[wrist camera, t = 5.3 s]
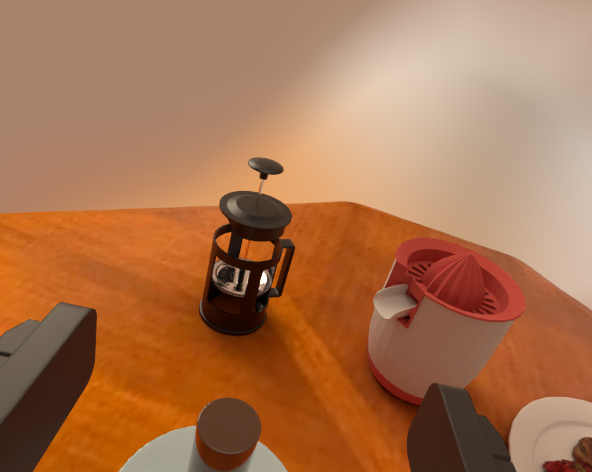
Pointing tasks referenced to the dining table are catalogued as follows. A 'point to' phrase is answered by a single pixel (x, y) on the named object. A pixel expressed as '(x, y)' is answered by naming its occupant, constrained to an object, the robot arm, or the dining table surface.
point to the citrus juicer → (438, 317)
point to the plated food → (552, 436)
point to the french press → (240, 271)
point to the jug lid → (210, 444)
